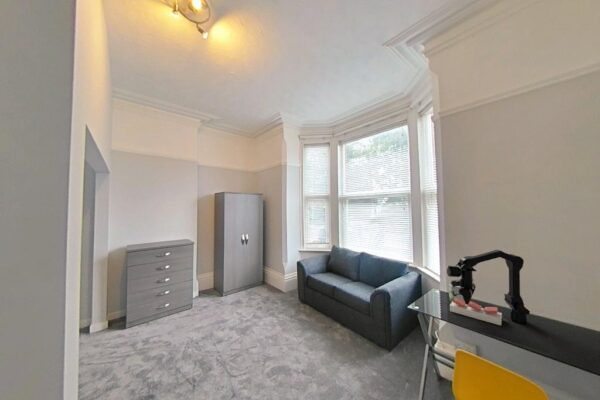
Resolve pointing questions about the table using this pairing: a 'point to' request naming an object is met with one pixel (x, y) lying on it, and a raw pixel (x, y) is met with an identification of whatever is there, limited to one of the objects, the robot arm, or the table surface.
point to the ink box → (455, 293)
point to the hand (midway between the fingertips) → (467, 302)
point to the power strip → (477, 313)
